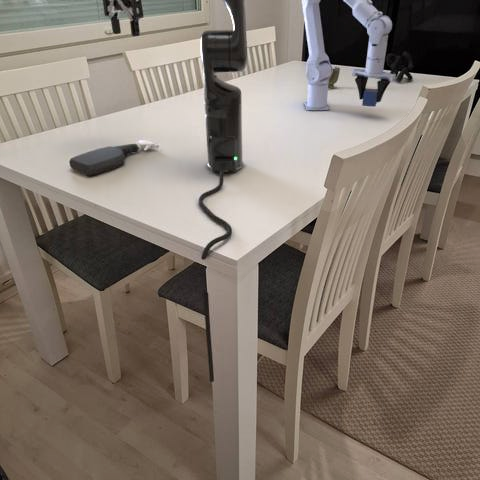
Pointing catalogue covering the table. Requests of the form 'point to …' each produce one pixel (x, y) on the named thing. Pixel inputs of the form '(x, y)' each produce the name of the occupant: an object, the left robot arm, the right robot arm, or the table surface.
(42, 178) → the table surface
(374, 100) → the brick
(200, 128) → the table surface
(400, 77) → the squiggle
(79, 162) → the spray bottle
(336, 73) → the olive rounded piece
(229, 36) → the left robot arm
